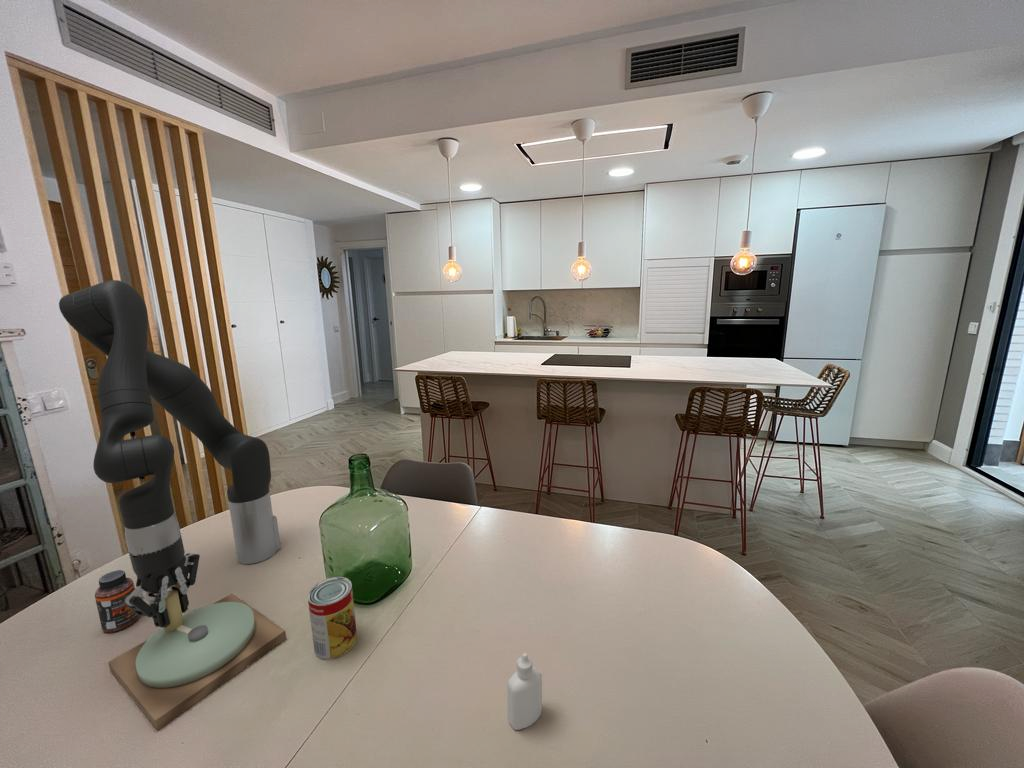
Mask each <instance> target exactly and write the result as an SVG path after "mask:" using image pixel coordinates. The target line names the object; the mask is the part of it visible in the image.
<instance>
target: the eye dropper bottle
mask: <svg viewBox="0 0 1024 768" xmlns="http://www.w3.org/2000/svg"><path fill="white" fill-rule="evenodd" d="M542 677H543V676H542V674H541V672H540V671H539V669H538V668H537V667H535V666H533V660H532V658H531V657H529V656H528V654H527V653H526V652H522V656H520V657H519V658H518V659H517V661H516V671H515V672H514V673H513V674H512V676H510V678H509V680H508V681H507V686H506V687H507V689H506V690H507V691H506V692H507V695H506V697H507V721H508V722H509V724H510V726H511V727H512V729H513V730H515V731H519V730H520V731H521V730H523V728H524V729H526V728H528V727H530V726H532V725H533V724H534V723H536V721H538V720H539V718H540V716H541V715H542V711H543V679H542Z"/></svg>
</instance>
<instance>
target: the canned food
mask: <svg viewBox="0 0 1024 768" xmlns="http://www.w3.org/2000/svg"><path fill="white" fill-rule="evenodd" d="M353 592H354V591H353V583H352V581H351V580H350V579H349V578H347V577H344V576H335V577H334V576H333V577H328V578H326V579H325V578H324V579H323V580H321V581H319V582H318V583H316V584H315V585H313V586H312V587H311V588H310V589H309V591H308V594H307V601H308V602H307V603H308V611H309V619H310V620H309V621H310V627H311V636H312V641H313V642H312V643H313V644H312V645H313V649H314V654H315V655H316V656H315V657H317V658H319V659H321V660H325V661H327V660H330V661H332V660H334V659H337V658H340V656H341V657H342V656H344V655H346V654H347V653H349V652H350V651H351V650H352V649H353V647H354V646H355V645H356V642H357V640H358V632H357V623H356V614H355V613H356V612H355V602H354V601H355V600H354V593H353Z"/></svg>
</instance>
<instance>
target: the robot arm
mask: <svg viewBox="0 0 1024 768" xmlns="http://www.w3.org/2000/svg"><path fill="white" fill-rule="evenodd" d="M58 307H59V311H60V314H61V315H62V317H63V318H64V320H65V321H66V322H67V323H68V324H69V325H70V326H71V327H72V328H73V330H75V331H76V332H77V333H78V334H79V335H81V337H82V338H84V339H85V340H86V341H88V342H89V343H90V344H92V345H93V346H94V347H95V348H97V349H98V350H99V351H100V352H102V353H103V354H105V356H107V358H106V360H105V362H104V364H103V367H102V370H101V373H100V374H99V376H98V377H99V378H98V381H97V387H96V394H97V400H98V408H99V413H100V414H99V415H100V421H101V423H100V425H101V427H100V434H99V438H98V442H97V446H96V449H95V450H96V451H95V453H94V458H93V471H94V474H95V475H96V477H97V478H98V479H99V480H101V481H103V482H104V483H108V484H116V483H121V482H125V481H130V480H134V479H135V480H136V479H139V478H143V477H148V476H152V477H151V478H150V479H149V480H148V481H147V482H145V483H143V484H141V485H138V486H136V487H133V488H131V489H130V490H127V491H126V492H124V493H123V494H121V496H120V497H119V501H118V506H119V511H120V513H121V518H122V522H123V526H124V536H125V537H124V538H125V544H126V547H127V550H128V554H129V559H130V563H131V567H132V570H133V572H134V574H135V575H136V577H137V578H136V581H135V582H136V583H135V587H136V588H135V590H134V591H133V592H132V593H131V594H130V595H125V596H124V597H123V598H122V600H121V602H122V603H123V604H125V605H126V606H127V607H128V608H130V609H131V610H132V611H133V612H135V613H136V614H137V615H139V617H147V618H152V620H153V625H154V626H155V627H158V628H162V627H163V628H166V627H167V626H169V625H170V620H169V616H168V612H167V609H165V599H166V598H167V591H168V590H169V589H170V590H177V591H178V595H179V600H180V605H181V610H182V614H183V613H184V614H185V612H186V613H187V611H188V610H189V608H188V607H190V606H189V604H190V602H189V597H188V590H189V588H190V587H191V586H194V585H195V584H196V580H197V573H198V569H199V562H200V558H201V556H200V554H198V553H186V554H185V547H184V543H183V538H182V537H183V536H182V533H181V528H180V523H179V521H178V520H179V519H178V518H177V516H176V513H175V508H174V504H173V500H172V495H171V494H172V493H171V475H172V469H173V464H174V458H175V447H174V445H173V443H172V441H171V439H169V438H168V437H166V436H165V435H162V434H151V435H146V436H142V437H140V436H139V437H136V438H129V439H124V437H125V436H127V435H128V434H131V433H133V432H136V431H138V430H142V429H144V428H147V427H148V426H150V425H151V424H152V423H153V421H154V419H155V414H154V410H153V403H152V399H153V400H155V402H156V403H157V404H158V405H160V406H161V407H162V408H163V409H164V410H165V411H166V412H167V413H168V414H170V416H171V417H173V418H174V419H175V420H176V421H177V422H178V423H179V424H181V425H182V426H183V427H184V428H185V429H187V430H188V431H189V432H191V433H192V434H193V435H194V436H195V437H196V438H197V439H198V440H199V441H200V442H201V443H202V445H203V446H204V447H205V449H207V451H208V452H209V454H210V455H211V456H212V457H213V458H214V460H215V461H216V462H217V463H218V464H219V465H220V467H223V468H225V469H227V470H231V474H232V484H231V485H229V486H228V488H227V490H226V496H227V502H228V507H229V508H228V509H229V513H230V520H231V528H232V533H233V538H234V545H235V552H236V557H237V561H238V562H239V563H240V564H243V565H251V564H252V565H253V564H257V563H258V564H259V563H261V562H263V561H265V560H268V559H269V558H271V557H272V556H274V555H275V554H276V553H277V552H278V551H279V550H281V549H282V545H281V540H280V539H281V538H280V531H279V524H278V523H279V522H278V517H277V516H276V515H274V513H273V506H272V501H271V500H272V498H271V492H270V484H271V480H272V470H271V460H270V459H271V458H270V451H269V448H268V446H267V443H265V441H264V440H263V439H261V438H258V437H255V436H251V435H248V434H244V433H243V432H241V431H239V430H238V429H237V428H236V427H235V426H234V425H233V424H231V422H230V421H229V420H228V419H227V418H226V417H225V416H224V415H223V413H222V412H221V409H220V408H219V405H218V401H217V399H216V398H215V396H214V393H213V392H212V390H211V389H210V388H209V386H208V385H207V384H206V383H205V381H203V380H202V378H201V377H200V376H199V375H198V374H197V373H196V372H195V371H194V370H193V369H192V368H191V367H189V366H187V365H185V364H184V363H181V362H179V361H176V360H174V359H172V358H169V357H166V356H163V355H161V354H158V353H156V352H153V351H152V350H148V329H149V328H148V326H149V315H148V309H147V308H148V307H147V305H146V303H145V300H144V298H143V297H142V296H141V294H140V293H139V292H138V291H137V290H136V288H134V287H133V286H131V285H130V284H128V283H127V282H125V281H122V280H117V279H112V280H107V281H104V282H103V281H102V282H100V283H96V284H93V285H91V286H88V287H85V288H82V289H79V290H76V291H73V292H70V293H69V294H65V295H63V296H62V297H61V298H60V299H59V302H58ZM151 398H152V399H151ZM123 439H124V440H123ZM170 590H169V591H170ZM144 592H145V596H144V594H143V593H144ZM145 600H146V601H147V602H146V601H145Z"/></svg>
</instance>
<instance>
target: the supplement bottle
mask: <svg viewBox="0 0 1024 768" xmlns="http://www.w3.org/2000/svg"><path fill="white" fill-rule="evenodd" d="M98 586H99V587H98V588H97V589H96V590H95V593H94V598H95V605H96V607H97V613H98V618H99V622H100V626H101V629H102V631H103V632H105V633H114V632H118V631H122V630H124V629H126V628H127V627H130V626H131V625H133V624H134V623H136V621H137V620H139V617H140V616H139V615H137V614H136V613H135V612H133V611H132V610H131V609H130V608H128V607H127V606H126V605H125V604H123V603H122V602H121V600H122V598H123V597H124V596H125V595H130V594H131V593H132V592H133V591H134V590H135V587H136V586H135V583H134V580H133V579H132V578H131V577H127V576H126V571H125V570H123V569H118V570H114V571H110V572H108V573H107V572H106V573H105V574H103V575H102V576H101V577H99V578H98Z"/></svg>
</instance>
